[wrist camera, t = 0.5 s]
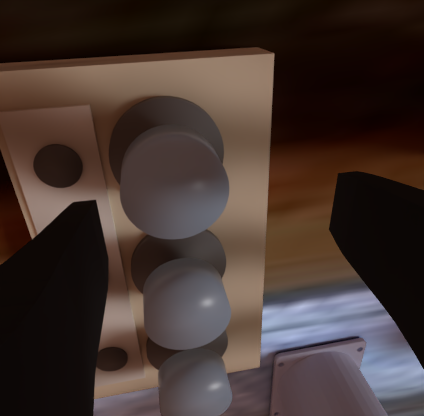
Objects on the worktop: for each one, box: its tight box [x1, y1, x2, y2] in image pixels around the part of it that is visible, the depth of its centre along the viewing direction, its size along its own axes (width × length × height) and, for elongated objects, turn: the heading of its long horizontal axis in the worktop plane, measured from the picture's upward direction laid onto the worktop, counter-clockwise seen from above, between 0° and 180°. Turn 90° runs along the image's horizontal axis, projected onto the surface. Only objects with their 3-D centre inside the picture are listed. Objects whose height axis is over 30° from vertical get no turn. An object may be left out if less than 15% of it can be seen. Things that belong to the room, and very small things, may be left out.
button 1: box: [120, 124, 229, 239], centre depth 14 cm, size 4×4×2 cm
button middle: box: [143, 258, 231, 350], centre depth 17 cm, size 4×4×2 cm
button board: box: [0, 47, 274, 399], centre depth 21 cm, size 21×12×3 cm, turn 2°
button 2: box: [158, 348, 232, 416], centre depth 21 cm, size 4×4×2 cm
